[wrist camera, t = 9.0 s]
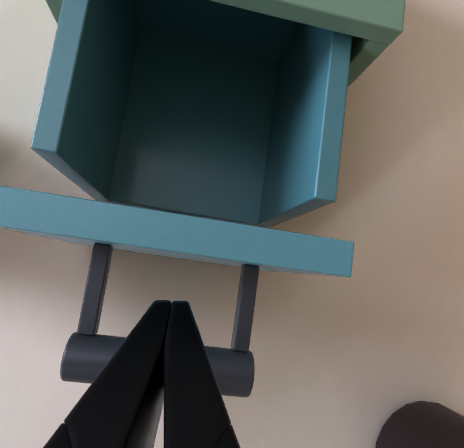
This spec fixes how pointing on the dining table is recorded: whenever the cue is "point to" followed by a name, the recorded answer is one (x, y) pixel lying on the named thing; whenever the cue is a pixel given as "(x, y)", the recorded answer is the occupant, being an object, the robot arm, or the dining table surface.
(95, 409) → the robot arm
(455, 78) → the dining table surface
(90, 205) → the compartment
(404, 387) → the dining table surface
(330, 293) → the dining table surface
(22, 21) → the dining table surface
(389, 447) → the bottle
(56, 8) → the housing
